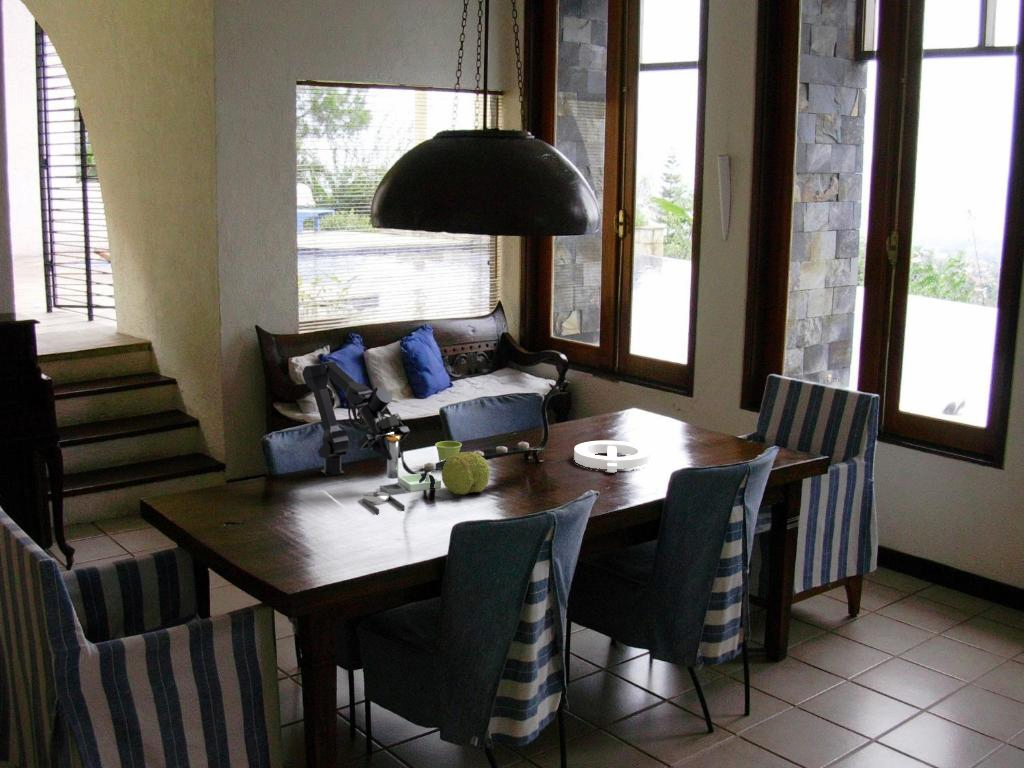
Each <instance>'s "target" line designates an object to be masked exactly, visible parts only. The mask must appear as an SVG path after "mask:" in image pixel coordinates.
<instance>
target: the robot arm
mask: <svg viewBox="0 0 1024 768" xmlns="http://www.w3.org/2000/svg"><path fill="white" fill-rule="evenodd" d="M301 374H302V379H303V380H304V383H305V385H306V386H307V388H309V389H310V391H312V393H313V396H314V401H315V403H316V407H317V410H318V412H319V417H320V419H321V424H322V427H323V430H324V431H323V434H322V438H321V439H322V445H321V447H319V449H318V450H317V452H318V456H319V457H320V458H323V459H324V469H321V472H322V474H324V475H325V476H327V477H328V476H337V475H345V471H343V470H342V456H346V455H347V453H348V449H349V446H350V443H349V440H350V439H349V437H348V434H347V430H346V429H345V428H344V429H342V428H340V426H339V424H338V420H337V417H336V413H335V411H334V407H333V404H332V401H331V397H330V394H329V390H328V385H329V384H328V383H329V379H330V380H332V382H333V383H334V384H336V385H337V386H338V387H339V388H340V389H342V391H343V392H344V393H345V398H346V399H347V401H348V402H349V403H350V404H351V406H352V407H359V406H361V408H358V409H357V413H356V417H357V418H358V417H359V418H360V417H362V419H363V421H364V422H365V424H366V427H365V429H366V431H370V432H368V433H364V434H363V435H362V436H361V437H360V438H359V440H358V441H357V446H358V449H359V450H360V451H361V450H366V449H368V447H369V444H370V447H369V450H371V451H372V450H373V451H374V452H376V453H377V454H378V455H379V454H380V455H381V456H382V457H384V458H385V459H386V460H387V459H388V460H392V457H391V455H390V453H389V451H388V449H387V445H386V442H385V441H387V440H386V435H389V434H397V435H400V440H398V459H401V458H402V453H401V445H400V442H402V441H404V440H405V438H406V437H407V436H408V435H409V434H410V433H411V431H410V428H409V427H408V426H407V425H403V426H399V425H400V423H401V422H402V418H401V415H400V414H399V413H398V412H396V413H392V414H391V416H387V417H386V416H383V415H382V414H381V412H383V411H384V410H385V409H386V408H387V407H388V406H389V404H390V403H391V402H392V400H393V396H392V394H391V392H389V391H388V390H386V389H384V388H383V387H382V386H376V387H375V388H374V389H373V390H372V389H371V388H370V387H368V386H367V385H366V384H362V383H360V382H357V381H355V380H354V379H353V378H352V377H351V376H350V375H349V374H348V373H346V371H344V370H343V369H342V367H340V366H339V365H338V363H337V362H336V361H332V360H331V361H325V362H322V363H318V364H316V363H315V364H310V365H306V366H305V367H304V368H303V370H302V373H301ZM395 426H398V427H396V428H395V429H394V427H395ZM393 430H394V431H393Z"/></svg>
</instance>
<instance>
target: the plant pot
mask: <svg viewBox="0 0 1024 768" xmlns="http://www.w3.org/2000/svg"><path fill="white" fill-rule="evenodd" d="M435 447H436V450H437V454H438V462H439V461H441V460H444V459H446V458H449V457H450V456H452V455H454V454H457V453H460V450H461V447H462V442H459V441H453V440H444V441H439V442H438V441H437V442H436V443H435Z"/></svg>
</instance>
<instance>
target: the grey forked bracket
mask: <svg viewBox="0 0 1024 768" xmlns="http://www.w3.org/2000/svg"><path fill="white" fill-rule="evenodd" d="M389 502H391V504H393V505H395V506H396V507H398V508H399V509H400V510H402V511H403V512H405V511H404V510H405V508H406V506H405V505H404V504H403V503H401V501H399V500H397V499H396V498H394V497H393V496H392V495H391V496H390V495H389V494H387V493H384V492H378V491H369V492H367V493H364V495H363V498H362V504H364V505H365V506H366V507H367V508H369V509H370V510H371V511H373V512H374V513H375V515H376V516H379V515H380V509H379V508H378V507H377V506H376V505H378V506H379V505H384V504H387V503H389ZM402 511H401V512H402ZM378 514H379V515H378Z"/></svg>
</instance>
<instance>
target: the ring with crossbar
mask: <svg viewBox="0 0 1024 768" xmlns="http://www.w3.org/2000/svg"><path fill="white" fill-rule="evenodd" d="M598 453H607V455H595V454H598ZM617 453H625V454H630V455H632V456H618V455H617ZM574 460H575V462H576V463H578V464H580V465H583V466H585V467H590V468H597V469H599V468H600V469H607V471H606V473H615V472H617V469H624V468H633V467H637V466H642V465H644V464H647V463H648V462H649V461H650V460H651V450H650V449H649V448H648V447H646V446H644V445H642V444H638V443H634V442H627V441H622V440H621V441H620V440H592V441H586V442H582V443H578V444H577V445H575V446H574V452H573V461H574ZM575 462H574V463H575ZM650 462H651V461H650ZM576 463H575V464H576ZM578 464H577V465H578ZM585 467H584V468H585ZM617 473H618V472H617Z"/></svg>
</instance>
